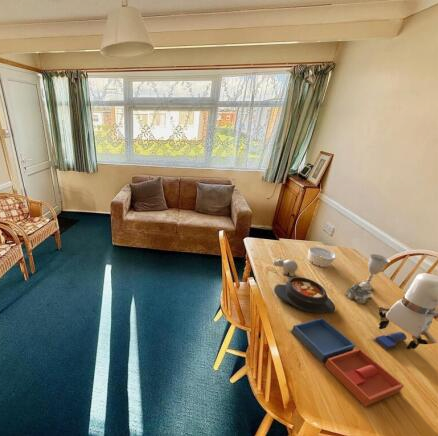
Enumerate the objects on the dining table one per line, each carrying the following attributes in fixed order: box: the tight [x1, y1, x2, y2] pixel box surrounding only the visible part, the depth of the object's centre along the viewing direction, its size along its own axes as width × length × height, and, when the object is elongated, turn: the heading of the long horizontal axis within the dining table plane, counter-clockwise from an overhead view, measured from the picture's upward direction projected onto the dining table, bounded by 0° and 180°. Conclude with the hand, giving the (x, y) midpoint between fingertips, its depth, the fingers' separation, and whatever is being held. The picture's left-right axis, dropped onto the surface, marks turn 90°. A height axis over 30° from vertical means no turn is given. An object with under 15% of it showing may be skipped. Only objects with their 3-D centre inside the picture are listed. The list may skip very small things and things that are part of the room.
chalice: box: [358, 253, 391, 291], centre depth 116 cm, size 7×7×18 cm
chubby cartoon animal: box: [273, 257, 299, 278], centre depth 129 cm, size 7×12×8 cm, turn 51°
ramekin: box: [307, 246, 337, 268], centre depth 139 cm, size 13×13×7 cm
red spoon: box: [344, 365, 379, 386], centre depth 77 cm, size 11×4×3 cm, turn 105°
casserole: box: [273, 276, 336, 314], centre depth 109 cm, size 25×19×8 cm
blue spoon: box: [374, 331, 408, 350], centre depth 90 cm, size 11×4×3 cm, turn 105°
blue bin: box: [291, 317, 356, 363], centre depth 90 cm, size 13×15×4 cm
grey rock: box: [346, 283, 372, 305], centre depth 112 cm, size 11×8×4 cm
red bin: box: [324, 348, 405, 407], centre depth 77 cm, size 13×15×4 cm
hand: (395, 337), depth 90 cm, fingers open, 8 cm apart
